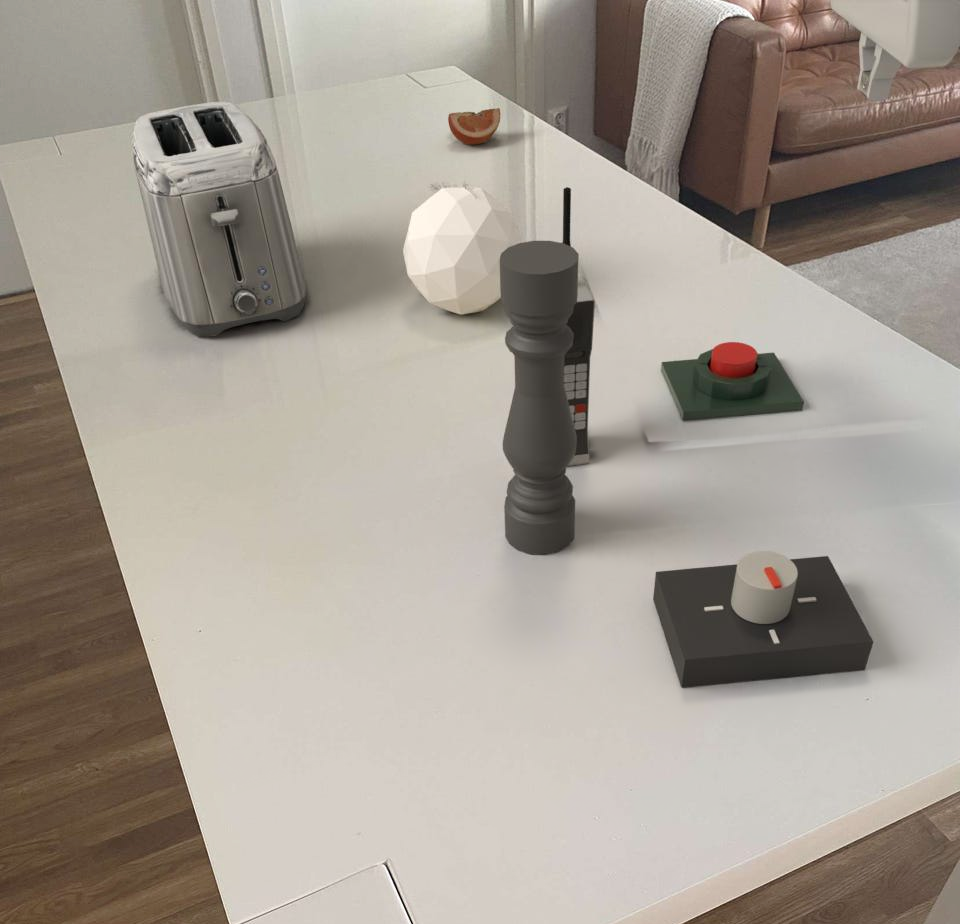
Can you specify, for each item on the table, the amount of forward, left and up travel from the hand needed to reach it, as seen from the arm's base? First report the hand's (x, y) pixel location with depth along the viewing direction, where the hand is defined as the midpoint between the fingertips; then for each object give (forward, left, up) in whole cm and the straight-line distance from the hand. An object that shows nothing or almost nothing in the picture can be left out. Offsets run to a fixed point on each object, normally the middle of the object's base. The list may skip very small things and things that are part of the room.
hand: (871, 96), depth 87 cm
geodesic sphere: (+35, -23, -27) cm, 50 cm away
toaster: (+64, -33, -27) cm, 77 cm away
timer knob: (+17, +37, -24) cm, 47 cm away
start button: (+10, +3, -23) cm, 26 cm away
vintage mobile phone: (+28, +10, -27) cm, 40 cm away
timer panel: (+17, +37, -27) cm, 49 cm away
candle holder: (+32, +22, -27) cm, 48 cm away
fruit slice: (+29, -79, -27) cm, 88 cm away
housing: (+10, +3, -27) cm, 29 cm away
